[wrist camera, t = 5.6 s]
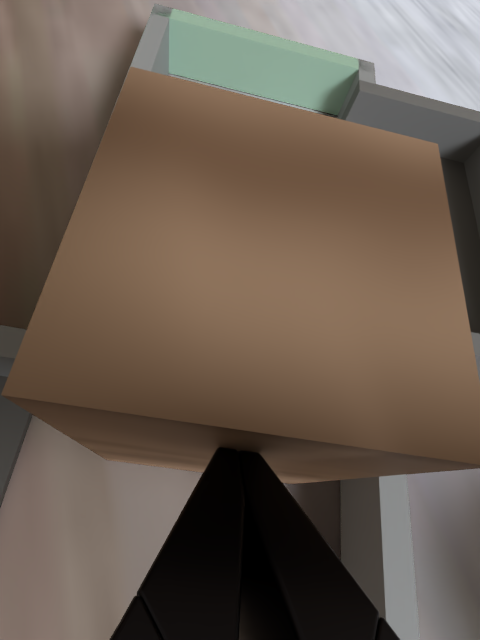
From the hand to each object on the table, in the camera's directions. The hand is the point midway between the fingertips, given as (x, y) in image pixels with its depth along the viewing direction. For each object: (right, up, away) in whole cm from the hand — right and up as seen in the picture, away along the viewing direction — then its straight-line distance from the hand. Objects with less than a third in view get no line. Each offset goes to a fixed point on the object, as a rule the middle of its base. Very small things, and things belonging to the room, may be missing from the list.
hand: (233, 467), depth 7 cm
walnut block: (0, +3, +10) cm, 10 cm away
